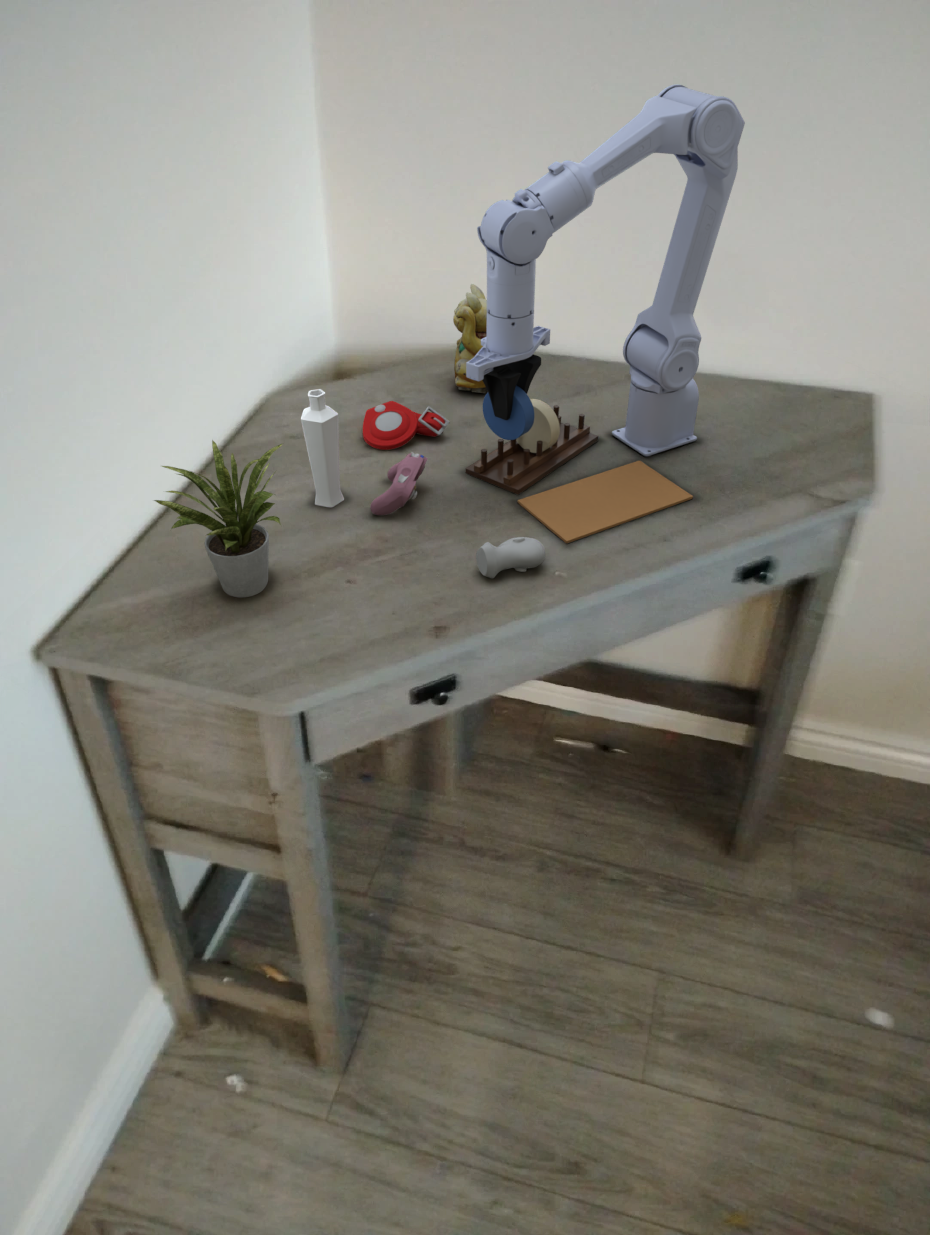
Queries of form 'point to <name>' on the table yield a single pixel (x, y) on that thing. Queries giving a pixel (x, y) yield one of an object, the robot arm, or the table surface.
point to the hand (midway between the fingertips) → (508, 413)
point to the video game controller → (400, 484)
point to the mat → (603, 501)
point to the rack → (531, 458)
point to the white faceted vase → (323, 448)
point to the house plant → (232, 524)
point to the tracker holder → (399, 425)
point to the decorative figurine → (470, 336)
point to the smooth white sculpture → (510, 556)
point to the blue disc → (519, 417)
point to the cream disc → (541, 428)
